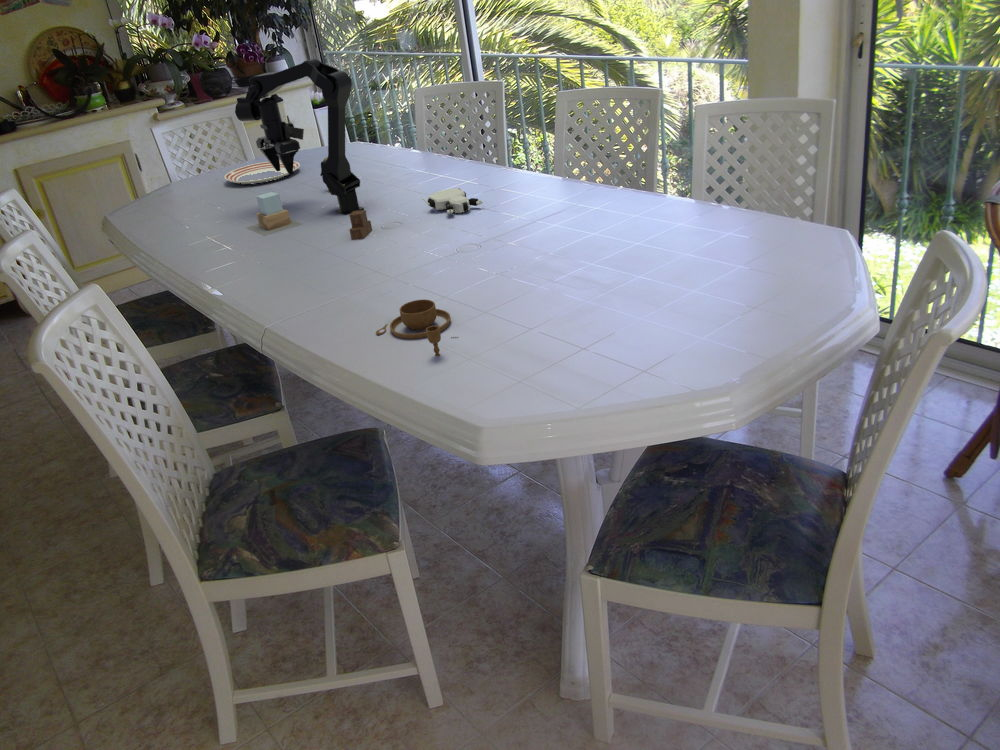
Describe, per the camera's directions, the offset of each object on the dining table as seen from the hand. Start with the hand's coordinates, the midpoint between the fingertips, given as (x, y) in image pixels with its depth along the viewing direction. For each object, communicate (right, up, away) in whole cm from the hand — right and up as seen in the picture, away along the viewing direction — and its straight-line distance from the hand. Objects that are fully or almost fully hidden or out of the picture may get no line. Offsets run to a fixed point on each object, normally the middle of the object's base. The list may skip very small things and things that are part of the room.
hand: (284, 172), depth 245 cm
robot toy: (+52, -15, -15) cm, 56 cm away
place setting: (+49, -54, -89) cm, 115 cm away
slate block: (-1, -14, -9) cm, 16 cm away
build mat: (-1, -18, -7) cm, 19 cm away
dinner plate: (-22, +12, +56) cm, 61 cm away
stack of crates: (+29, -24, -26) cm, 46 cm away
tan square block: (-1, -17, -7) cm, 19 cm away
